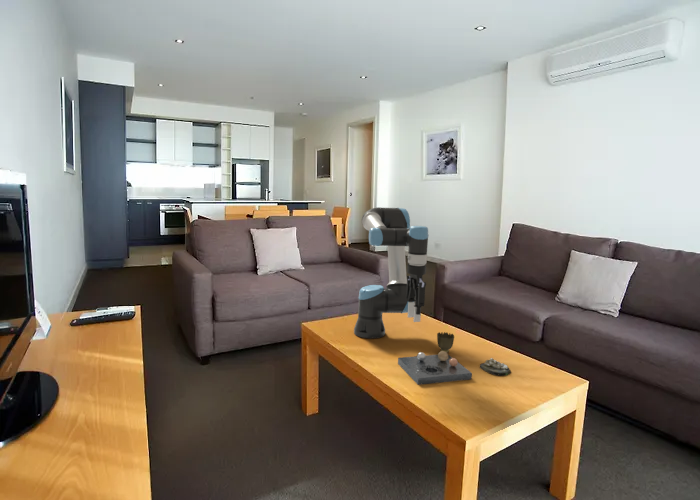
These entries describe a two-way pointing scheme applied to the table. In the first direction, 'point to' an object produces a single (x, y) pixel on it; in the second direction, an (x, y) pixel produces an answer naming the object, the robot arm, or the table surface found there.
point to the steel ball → (421, 356)
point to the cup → (445, 341)
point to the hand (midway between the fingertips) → (413, 319)
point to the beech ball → (443, 356)
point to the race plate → (433, 370)
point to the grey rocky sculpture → (495, 367)
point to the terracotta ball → (453, 362)
